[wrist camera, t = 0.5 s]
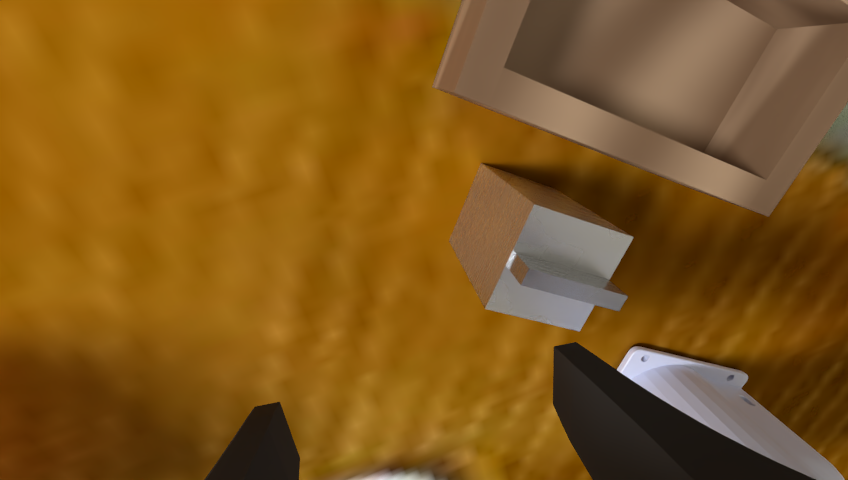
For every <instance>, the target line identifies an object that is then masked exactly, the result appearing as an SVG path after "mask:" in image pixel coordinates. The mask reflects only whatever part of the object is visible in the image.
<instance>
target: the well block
mask: <svg viewBox="0 0 848 480" xmlns="http://www.w3.org/2000/svg"><path fill="white" fill-rule="evenodd" d="M432 87H434V88H436V89H439V90H441V91H444V92H446V93H449V94H451V95H454V96H457V97H459V98H462V99H464V100H467V101H469V102H472V103H474V104H477V105H479V106H482V107H485V108H487V109H490V110H492V111H495V112H497V113H500V114H502V115H505V116H508V117H510V118H513V119H515V120H518V121H520V122H523V123H525V124H528V125H530V126H533V127H536V128H538V129H541V130H543V131H546V132H548V133H551V134H553V135H556V136H559V137H561V138H564V139H566V140H569V141H571V142H574V143H576V144H579V145H581V146H584V147H587V148H589V149H592V150H594V151H597V152H599V153H602V154H604V155H607V156H610V157H612V158H615V159H617V160H620V161H622V162H625V163H627V164H630V165H632V166H635V167H638V168H640V169H643V170H645V171H648V172H650V173H653V174H655V175H658V176H661V177H663V178H666V179H668V180H671V181H673V182H676V183H678V184H681V185H683V186H686V187H689V188H691V189H694V190H696V191H699V192H702V193H705V194H707V195H710V196H713V197H716V198H718V199H721V200H724V201H727V202H729V203H732V204H735V205H738V206H740V207H743V208H746V209H749V210H751V211H754V212H757V213H760V214H762V215H765V216H768V217H769V216H770V214H771V213H772V211H773V210H774V208H775V207H776V206H777V204H778V203H779V201H780V200H781V198H782V197H783V195H784V194H785V193H786V191H787V190H788V188H789V187H790V185H791V184H792V182H793V181H794V179H795V178H796V177H797V175H798V174H799V172H800V171H801V169H802V168H803V166H804V165H805V163H806V162H807V161H808V159H809V158H810V156H811V155H812V153H813V152H814V150H815V149H816V147H817V146H818V145H819V143H820V142H821V140H822V139H823V137H824V136H825V134H826V133H827V131H828V130H829V129H830V127H831V126H832V124H833V123H834V121H835V120H836V118H837V117H838V115H839V114H840V113H841V111H842V110H843V108H844V107H845V105H846V104H847V102H848V0H462V2H461V5H460V8H459V11H458V14H457V17H456V20H455V23H454V25H453V28H452V31H451V34H450V37H449V40H448V43H447V46H446V49H445V52H444V54H443V57H442V60H441V63H440V66H439V69H438V72H437V75H436V78H435V81H434V84H433V86H432Z"/></svg>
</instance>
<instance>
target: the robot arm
mask: <svg viewBox="0 0 848 480" xmlns="http://www.w3.org/2000/svg"><path fill="white" fill-rule="evenodd" d="M747 380H748V375H747V374H746V373H744V372H743V371H741V370H736V369H732V368H728V367H724V366H720V365H715V364H711V363H707V362H703V361H699V360H695V359H690V358H686V357H682V356H678V355H674V354H669V353H665V352H661V351H657V350H653V349H648V348H644V347H640V346H635V347H633V348H631V349H630V350H629V351H628V353H627V354H626V356H625V357H624V359H623V360H622V362H621V364H620V365H619V367H618V368H617V370H616V369H614V368H613V367H611V366H610V365H609V364H607V363H606V362H604V361H603V360H601V359H600V358H598V357H597V356H595V355H594V354H593V353H591V352H590V351H588V350H587V349H585V348H584V347H582V346H581V345H579V344H578V343H576V342H574V343H570V344H565V345H560V346H555V347H554V377H553V405H554V407H555V409H556V412H557V414H558V416H559V418H560V421H561V423H562V425H563V427H564V429H565V431H566V434H567V436H568V438H569V440H570V442H571V444H572V445H573V447H574V449H575V450H576V452H577V454H578V455H579V457H580V459H581V460H582V462H583V464H584V466H585V467H586V469H587V471H588V472H589V474H590V476H591V477H592V479H593V480H845V479H844V478H843V476H842V475H841V474H840V473H839V471H838V470H837V469H836V468H835V467H834V466H833V465H832V464H831V463H830V462H829V461H827V460H826V459H825V458H824V457H823V456H822V455H820V454H819V453H818V452H817V451H816V450H814V449H813V448H812V447H811V446H810V445H808V444H807V443H806V442H805V441H804V440H802V439H801V438H800V437H799V436H798V435H796V434H795V433H794V432H793V431H792V430H790V429H789V428H788V427H787V426H786V425H784V424H783V423H782V422H781V421H780V420H778V419H777V418H776V417H775V416H774V415H772V414H771V413H770V412H769V411H768V410H766V409H765V408H764V407H763V406H762V405H760V404H759V403H758V402H757V401H756V400H754V399H753V398H752V397H751V396H750V395H748V394H747V393H746V392H745V391H744V390H742V389H741V388H742V387H743V386H744V384H745V383H746V382H747ZM299 464H300V457H299V454H298V452H297V449H296V446H295V443H294V440H293V438H292V435H291V432H290V429H289V427H288V424H287V421H286V418H285V415H284V413H283V410H282V407H281V404H280V402H277V403H272V404H267V405H262V406H257V407H255V408H254V409H253V410H252V411H251V413H250V414H249V416H248V417H247V419H246V420H245V422H244V423H243V425H242V426H241V428H240V429H239V431H238V432H237V434H236V435H235V437H234V438H233V440H232V441H231V442H230V444H229V445H228V447H227V448H226V450H225V451H224V453H223V454H222V456H221V457H220V459H219V460H218V462H217V463H216V464H215V466H214V467H213V469H212V470H211V471H210V473H209V474H208V476H207V477H206V479H205V480H299Z"/></svg>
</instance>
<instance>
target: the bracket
mask: <svg viewBox="0 0 848 480" xmlns="http://www.w3.org/2000/svg"><path fill="white" fill-rule="evenodd" d="M633 238H634V237H633V236H631V235H629V234H628V233H626V232H625V231H623V230H621V229H620V228H618V227H616V226H615V225H613V224H612V223H610V222H608V221H607V220H605V219H603V218H602V217H600V216H599V215H597V214H595V213H594V212H592V211H590V210H589V209H587V208H586V207H584V206H582V205H581V204H579V203H577V202H576V201H574V200H573V199H571V198H569V197H568V196H566V195H564V194H563V193H561V192H560V191H558V190H556V189H554V188H551V187H548V186H546V185H543V184H540V183H537V182H534V181H531V180H528V179H525V178H523V177H520V176H517V175H514V174H511V173H508V172H505V171H503V170H500V169H497V168H494V167H491V166H488V165H485V164H482V163H481V164H480V167H479V169H478V172H477V174H476V177H475V179H474V182H473V184H472V187H471V189H470V191H469V194H468V196H467V199H466V201H465V204H464V206H463V209H462V211H461V213H460V216H459V218H458V221H457V223H456V226H455V228H454V231H453V233H452V235H451V238H450V240H449V242H450V243H451V245H452V247H453V249H454V251H455V253H456V255H457V257H458V259H459V260H460V262H461V264H462V266H463V268H464V270H465V272H466V274H467V276H468V277H469V279H470V281H471V283H472V285H473V287H474V289H475V291H476V293H477V294H478V296H479V298H480V300H481V302H482V304H483V306H484V308H485V309H488V310H492V311H496V312H501V313H505V314H509V315H513V316H517V317H521V318H526V319H530V320H534V321H538V322H542V323H546V324H551V325H555V326H559V327H563V328H567V329H571V330H576V331H580V330H581V328H582V326H583V325H584V323H585V321H586V319H587V318H588V316H589V314H590V313H591V311H592V309H593V307H594V306H595V305H597V306H601V307H605V308H608V309H612V310H616V311H619V310H620V309H621V307H622V305H623V304H624V302H625V301H626V299H627V297H628V296H627V295H626V294H625V293H624V292H622V291H621V290H620V289H619V288H618V287H617V286H615V285H614V284H613V283H612V282H611V281H609V280H610V278H611V276H612V274H613V273H614V271H615V269H616V267H617V266H618V264H619V262H620V261H621V259H622V257H623V255H624V254H625V252H626V250H627V248H628V247H629V245H630V243H631V241H632V240H633Z"/></svg>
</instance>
